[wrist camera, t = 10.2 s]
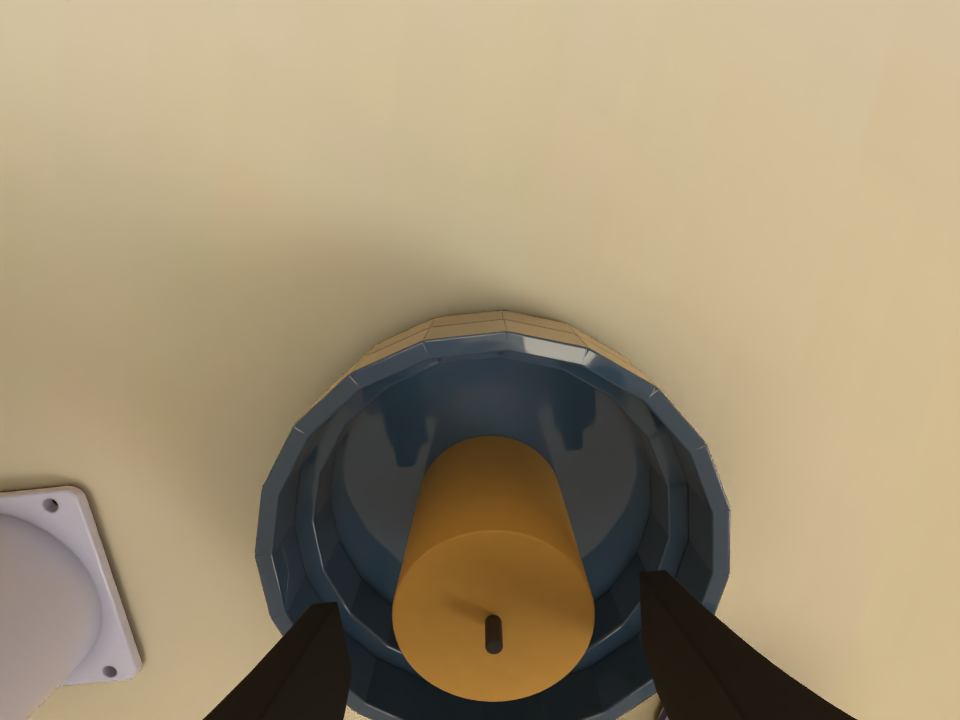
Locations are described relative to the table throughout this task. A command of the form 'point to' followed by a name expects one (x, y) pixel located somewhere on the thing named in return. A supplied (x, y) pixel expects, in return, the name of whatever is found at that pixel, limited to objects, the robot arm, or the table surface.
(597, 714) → the bowl
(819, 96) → the table surface
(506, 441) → the candle
